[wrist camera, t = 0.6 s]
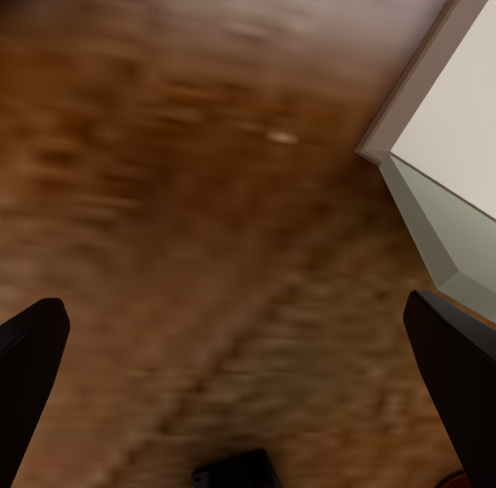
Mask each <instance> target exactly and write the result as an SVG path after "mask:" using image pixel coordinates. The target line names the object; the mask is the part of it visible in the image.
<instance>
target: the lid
mask: <svg viewBox="0 0 496 488" xmlns="http://www.w3.org/2000/svg"><path fill="white" fill-rule="evenodd" d="M379 169H380V171H381V173H382V175H383V178H384V180H385V182H386V184H387V186H388V188H389V190H390V192H391V194H392V196H393V198H394V201H395V203H396V205H397V207H398V209H399V211H400V213H401V215H402V217H403V219H404V221H405V224H406V226H407V228H408V230H409V232H410V234H411V236H412V238H413V240H414V242H415V244H416V247H417V249H418V251H419V253H420V255H421V257H422V259H423V261H424V263H425V265H426V268H427V270H428V272H429V274H430V276H431V278H432V280H433V282H434V284H435V286H436V288H437V290H439V291H440V292H442V293H444V294H446V295H447V296H449V297H451V298H453V299H454V300H456V301H458V302H459V303H461V304H463V305H465V306H466V307H468V308H470V309H471V310H473V311H475V312H477V313H478V314H480V315H482V316H484V317H485V318H487V319H489V320H490V321H492V322H494V323H496V222H494V221H492V220H491V219H489V218H488V217H486V216H485V215H483V214H482V213H480V212H478V211H477V210H475V209H474V208H472V207H471V206H469V205H468V204H466V203H464V202H463V201H461V200H460V199H458V198H457V197H455V196H453V195H452V194H450V193H449V192H447V191H446V190H444V189H443V188H441V187H439V186H438V185H436V184H435V183H433V182H432V181H430V180H429V179H427V178H425V177H424V176H422V175H421V174H419V173H418V172H416V171H415V170H413V169H411V168H410V167H408V166H407V165H405V164H404V163H402V162H400V161H399V160H397V159H396V158H394V157H393V156H391V155H390V154H389V155H388V156H387V157H386V158H385V160H384V161H383V162H382V163H381V164H380V166H379Z"/></svg>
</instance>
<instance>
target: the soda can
mask: <svg viewBox="0 0 496 488" xmlns="http://www.w3.org/2000/svg"><path fill="white" fill-rule="evenodd" d="M440 488H472V486H471V484H470V481H469V479H468V477H467V475H466V473H461V474H459V475H456V476H454V477H452V478H450V479H449V480H447V481H446V482H445V483H444V484H442V486H441V487H440Z"/></svg>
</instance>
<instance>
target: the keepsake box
mask: <svg viewBox="0 0 496 488" xmlns="http://www.w3.org/2000/svg"><path fill="white" fill-rule="evenodd" d="M354 152H355V153H357V154H358V155H360V156H361V157H363V158H364V159H366V160H368V161H369V162H371V163H372V164H374V165H376V166H377V167H379V166H380V164H381V163H382V162H383V161H384V160H385V158H386V157H387V156H388V155H389V154H390V155H391V156H393V157H394V158H396V159H397V160H399V161H400V162H402V163H404V164H405V165H407V166H408V167H410V168H411V169H413V170H415V171H416V172H418V173H419V174H421V175H422V176H424V177H425V178H427V179H429V180H430V181H432V182H433V183H435V184H436V185H438V186H439V187H441V188H443V189H444V190H446V191H447V192H449V193H450V194H452V195H453V196H455V197H457V198H458V199H460V200H461V201H463V202H464V203H466V204H468V205H469V206H471V207H472V208H474V209H475V210H477V211H478V212H480V213H482V214H483V215H485V216H486V217H488V218H489V219H491V220H492V221H494V222H496V0H448V2H447V3H446V5H445V6H444V8H443V10H442V11H441V13H440V14H439V16H438V18H437V19H436V21H435V22H434V24H433V26H432V27H431V29H430V30H429V32H428V33H427V35H426V37H425V38H424V40H423V41H422V43H421V45H420V46H419V48H418V49H417V51H416V53H415V54H414V56H413V57H412V59H411V61H410V62H409V64H408V65H407V67H406V69H405V70H404V72H403V73H402V75H401V77H400V78H399V80H398V81H397V83H396V85H395V86H394V88H393V89H392V91H391V93H390V94H389V96H388V97H387V99H386V101H385V102H384V104H383V105H382V107H381V108H380V110H379V112H378V113H377V115H376V116H375V118H374V120H373V121H372V123H371V124H370V126H369V128H368V129H367V131H366V132H365V134H364V136H363V137H362V139H361V140H360V142H359V144H358V145H357V147H356V148H355V150H354Z"/></svg>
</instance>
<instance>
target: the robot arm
mask: <svg viewBox="0 0 496 488" xmlns="http://www.w3.org/2000/svg"><path fill="white" fill-rule="evenodd" d="M403 321H404V325H405V328H406V331H407V334H408V337H409V340H410V343H411V346H412V349H413V352H414V355H415V358H416V361H417V364H418V367H419V370H420V373H421V376H422V378H423V380H424V383H425V385H426V387H427V389H428V391H429V394H430V396H431V398H432V400H433V402H434V405H435V407H436V409H437V411H438V413H439V416H440V418H441V420H442V422H443V424H444V427H445V429H446V431H447V433H448V435H449V438H450V440H451V442H452V444H453V446H454V449H455V451H456V453H457V455H458V457H459V460H460V462H461V464H462V466H463V468H464V470H465V473H466V475H467V477H468V479H469V481H470V484H471V486H472V488H496V331H495V330H494V329H492V328H490V327H489V326H487V325H485V324H484V323H482V322H480V321H479V320H477V319H475V318H474V317H472V316H470V315H469V314H467V313H465V312H464V311H462V310H460V309H459V308H457V307H455V306H454V305H452V304H450V303H449V302H447V301H445V300H444V299H442V298H440V297H439V296H437V295H435V294H434V293H432V292H430V291H428V290H414V291H412V292H411V293H410V294H409V297H408V300H407V303H406V307H405V310H404V313H403ZM69 331H70V321H69V318H68V315H67V312H66V310H65V307H64V304H63V302H62V300H61V299H59V298H43V299H41V300H39V301H38V302H36V303H35V304H33V305H31V306H30V307H28V308H27V309H25V310H24V311H22V312H21V313H19V314H17V315H16V316H14V317H13V318H11V319H10V320H8V321H7V322H5V323H3V324H2V325H0V488H11V485H12V483H13V480H14V478H15V476H16V473H17V471H18V469H19V466H20V464H21V461H22V459H23V457H24V454H25V452H26V450H27V447H28V445H29V442H30V440H31V438H32V435H33V433H34V430H35V428H36V426H37V423H38V421H39V419H40V416H41V414H42V411H43V409H44V407H45V404H46V402H47V400H48V397H49V395H50V392H51V390H52V387H53V384H54V381H55V378H56V375H57V372H58V368H59V365H60V362H61V358H62V355H63V351H64V348H65V345H66V341H67V338H68V335H69ZM260 456H263V457H260ZM197 477H198V478H197ZM191 480H192V483H193V485H194V487H195V488H282V487H281V484H280V482H279V480H278V477H277V475H276V473H275V470H274V468H273V466H272V464H271V461H270V459H269V457H268V454H267V452H266V451H265V450H257V451H254V452H251V453H248V454H245V455H242V456H239V457H236V458H233V459H230V460H227V461H223V462H220V463H217V464H214V465H211V466H208V467H205V468H202V469H199V470H196V471H194V472H193V473H192V478H191Z"/></svg>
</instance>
